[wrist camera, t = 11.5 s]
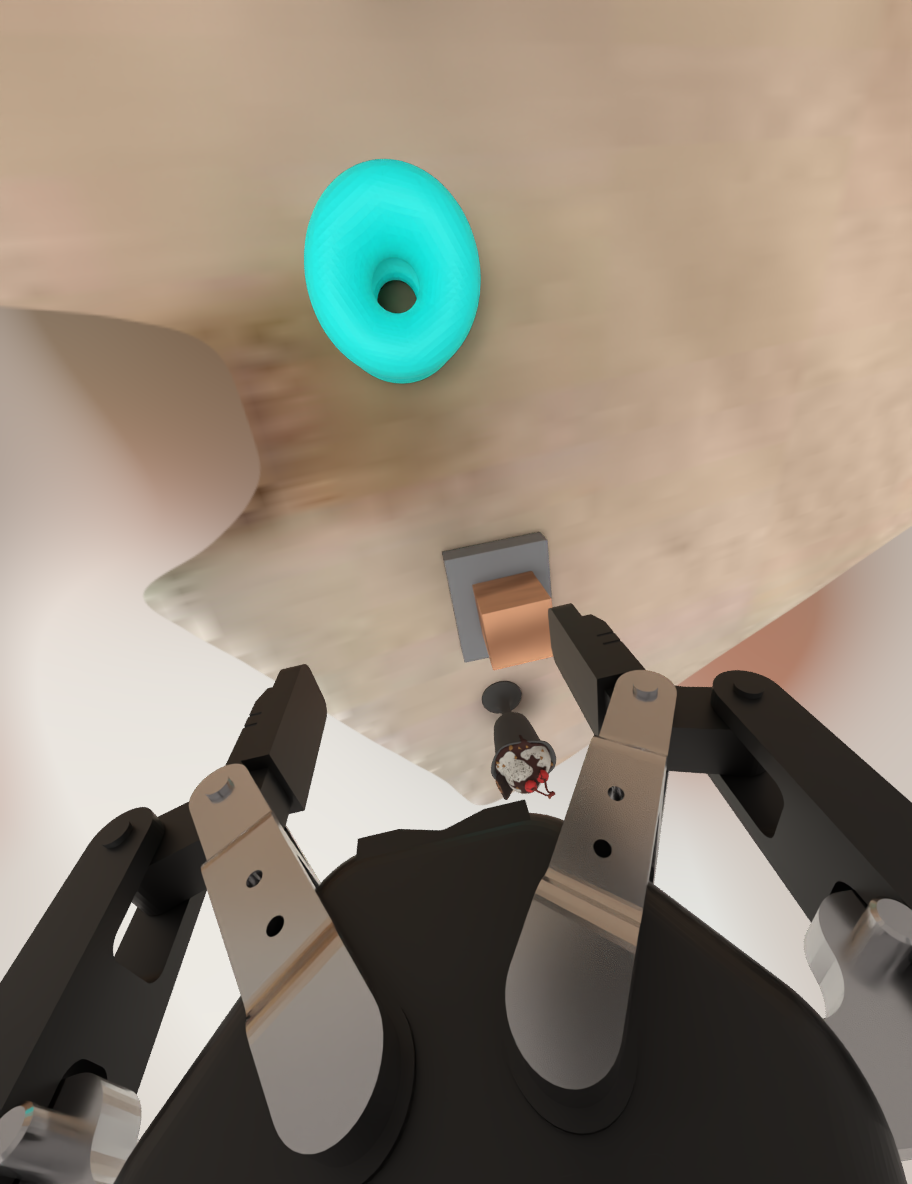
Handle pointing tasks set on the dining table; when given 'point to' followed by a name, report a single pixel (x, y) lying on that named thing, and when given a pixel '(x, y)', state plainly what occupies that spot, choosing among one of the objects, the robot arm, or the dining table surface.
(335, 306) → the donuts
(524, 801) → the robot arm
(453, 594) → the base
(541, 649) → the cube
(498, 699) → the sundae
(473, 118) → the dining table surface
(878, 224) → the dining table surface
